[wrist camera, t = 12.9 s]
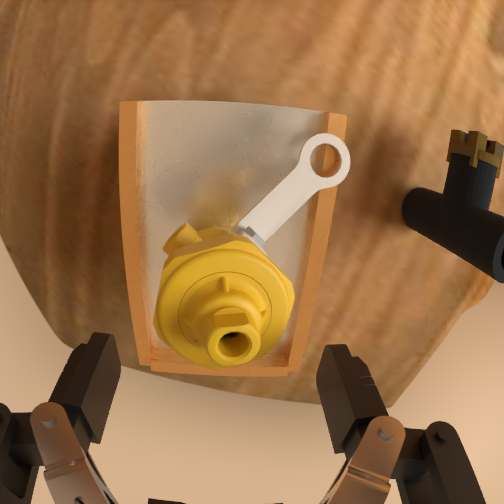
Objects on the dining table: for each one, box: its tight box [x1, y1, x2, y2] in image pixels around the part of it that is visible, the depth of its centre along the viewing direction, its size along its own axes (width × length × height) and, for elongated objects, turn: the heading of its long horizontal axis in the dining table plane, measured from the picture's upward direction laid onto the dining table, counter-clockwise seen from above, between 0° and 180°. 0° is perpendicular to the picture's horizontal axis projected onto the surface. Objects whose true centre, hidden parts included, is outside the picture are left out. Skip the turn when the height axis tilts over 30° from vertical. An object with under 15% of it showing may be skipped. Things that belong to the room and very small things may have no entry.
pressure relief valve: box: [153, 133, 350, 370], centre depth 14 cm, size 6×12×10 cm, turn 132°
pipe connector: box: [402, 130, 504, 283], centre depth 25 cm, size 12×5×15 cm, turn 170°
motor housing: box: [119, 100, 347, 376], centre depth 25 cm, size 18×12×14 cm, turn 175°
